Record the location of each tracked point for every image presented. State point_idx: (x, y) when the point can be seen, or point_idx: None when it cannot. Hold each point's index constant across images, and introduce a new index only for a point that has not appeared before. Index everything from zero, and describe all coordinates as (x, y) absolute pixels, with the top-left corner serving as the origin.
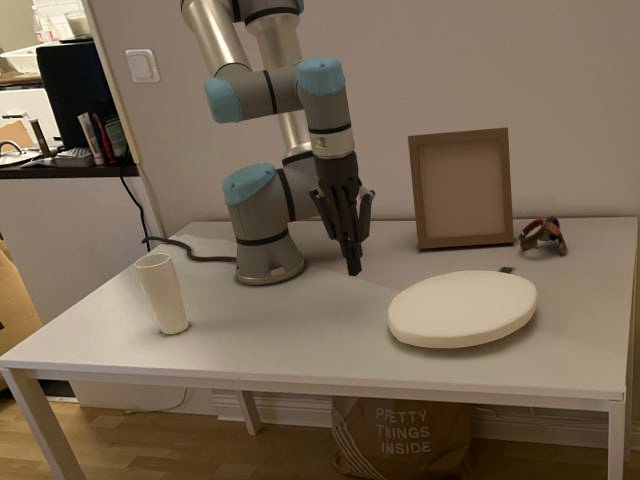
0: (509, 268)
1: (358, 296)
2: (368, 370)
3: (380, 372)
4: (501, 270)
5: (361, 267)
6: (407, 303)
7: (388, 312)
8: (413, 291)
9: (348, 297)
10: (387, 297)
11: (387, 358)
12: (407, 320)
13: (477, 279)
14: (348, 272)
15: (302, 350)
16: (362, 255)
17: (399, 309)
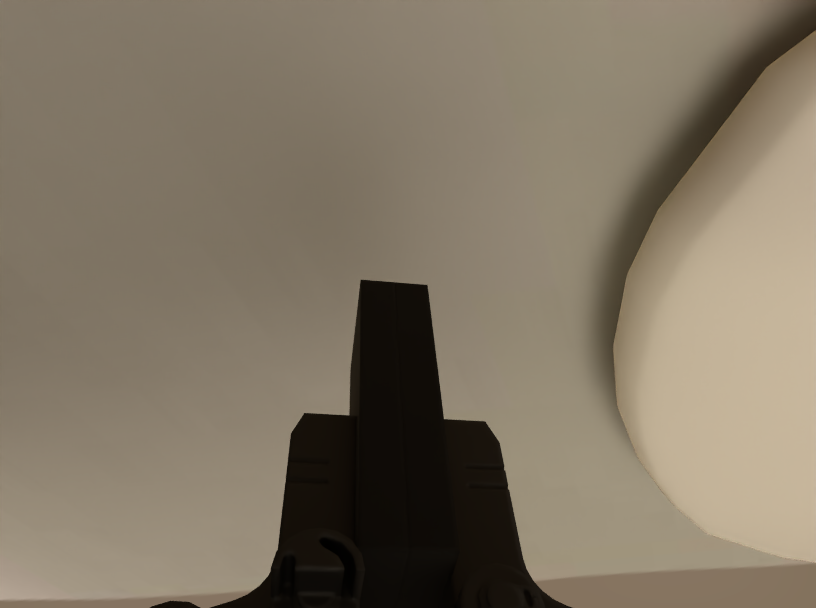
0: None
1: (289, 22)
2: (572, 557)
3: (615, 560)
4: None
5: (428, 303)
6: (764, 427)
7: (644, 441)
8: (808, 312)
9: (220, 44)
10: (515, 22)
11: (627, 508)
12: (756, 518)
13: None
14: (350, 388)
15: (279, 504)
16: (491, 432)
17: (713, 451)
